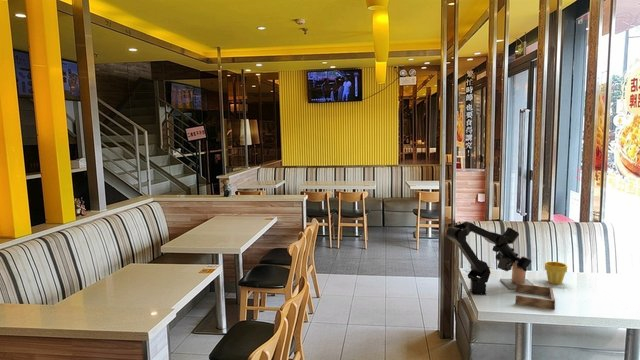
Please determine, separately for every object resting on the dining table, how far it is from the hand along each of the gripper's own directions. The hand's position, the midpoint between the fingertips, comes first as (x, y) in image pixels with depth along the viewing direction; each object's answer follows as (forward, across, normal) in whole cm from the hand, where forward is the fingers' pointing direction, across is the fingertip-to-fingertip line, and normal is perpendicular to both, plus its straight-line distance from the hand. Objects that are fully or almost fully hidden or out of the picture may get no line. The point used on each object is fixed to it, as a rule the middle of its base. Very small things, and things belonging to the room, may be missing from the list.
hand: (520, 269), depth 223 cm
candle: (+4, 0, -6) cm, 7 cm away
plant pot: (+20, +4, +8) cm, 22 cm away
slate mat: (+5, 0, -7) cm, 9 cm away
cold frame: (-1, +18, -13) cm, 22 cm away
